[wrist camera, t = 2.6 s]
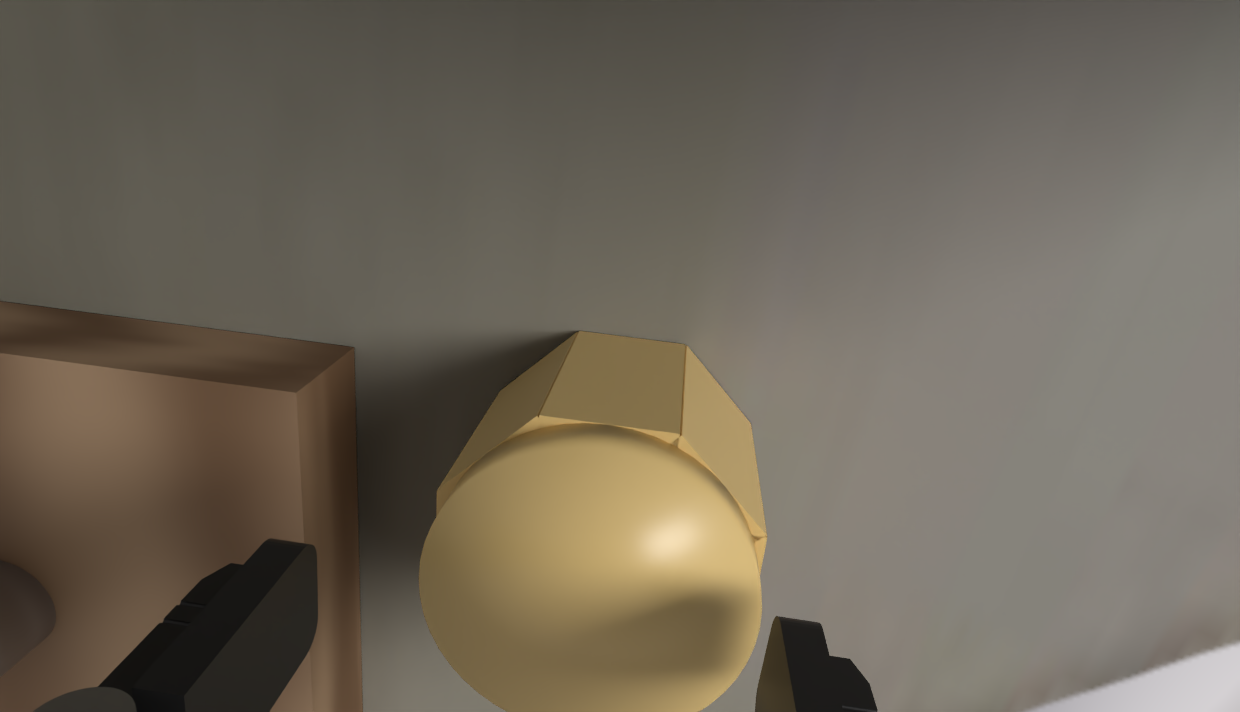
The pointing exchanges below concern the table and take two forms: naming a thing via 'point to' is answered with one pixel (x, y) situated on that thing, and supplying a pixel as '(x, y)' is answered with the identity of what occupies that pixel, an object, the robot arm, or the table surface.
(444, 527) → the cap
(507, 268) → the table surface
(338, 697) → the bolt base
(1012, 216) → the table surface
